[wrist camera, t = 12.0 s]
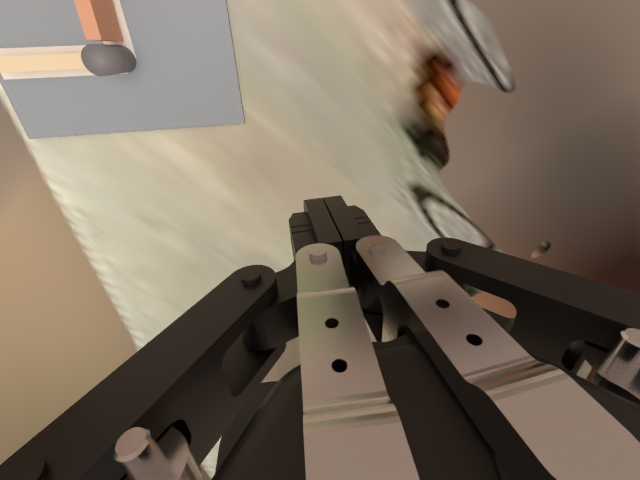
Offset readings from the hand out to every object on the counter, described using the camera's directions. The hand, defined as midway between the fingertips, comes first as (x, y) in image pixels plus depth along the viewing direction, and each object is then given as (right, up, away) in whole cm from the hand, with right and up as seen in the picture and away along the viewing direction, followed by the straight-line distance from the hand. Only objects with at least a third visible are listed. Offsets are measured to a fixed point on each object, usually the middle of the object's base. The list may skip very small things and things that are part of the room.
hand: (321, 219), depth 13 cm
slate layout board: (-21, +19, +18) cm, 34 cm away
